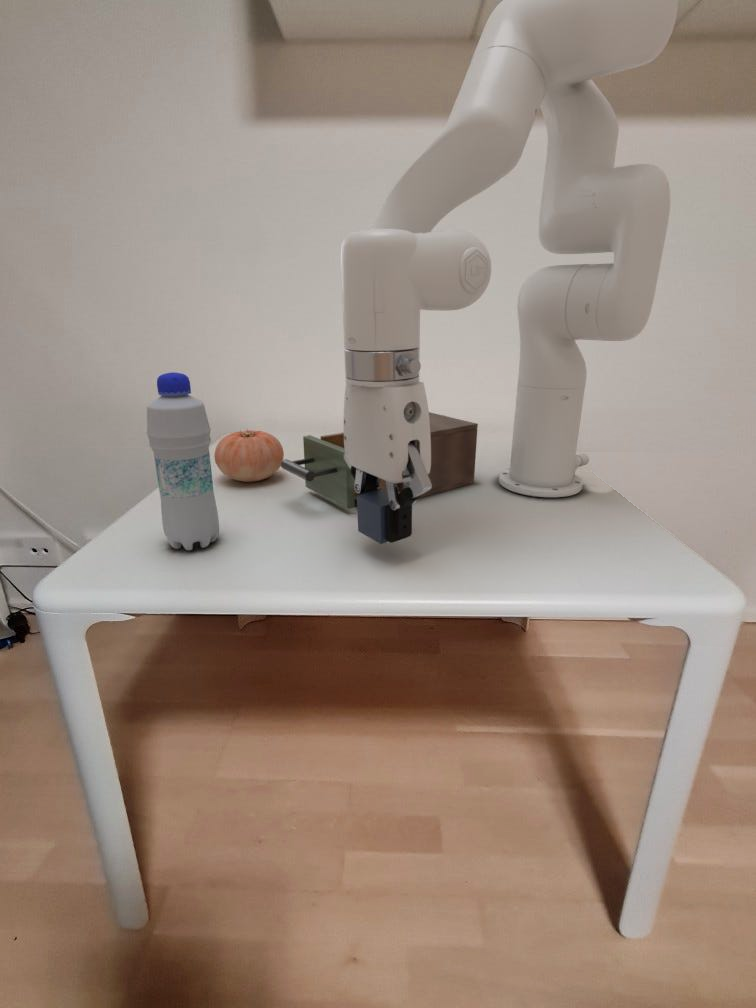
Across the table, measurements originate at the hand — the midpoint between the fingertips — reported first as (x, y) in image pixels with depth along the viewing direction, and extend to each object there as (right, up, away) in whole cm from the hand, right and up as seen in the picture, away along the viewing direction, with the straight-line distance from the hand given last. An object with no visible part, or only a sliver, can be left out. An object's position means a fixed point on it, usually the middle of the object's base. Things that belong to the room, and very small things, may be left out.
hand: (384, 529), depth 62 cm
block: (0, 0, 0) cm, 0 cm away
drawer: (-5, +5, +18) cm, 19 cm away
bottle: (-23, -2, +4) cm, 23 cm away
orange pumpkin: (-21, +7, +27) cm, 35 cm away
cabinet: (+5, +6, +25) cm, 26 cm away
